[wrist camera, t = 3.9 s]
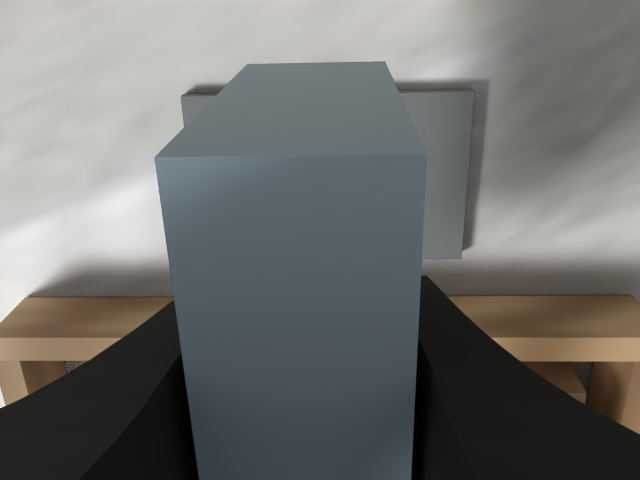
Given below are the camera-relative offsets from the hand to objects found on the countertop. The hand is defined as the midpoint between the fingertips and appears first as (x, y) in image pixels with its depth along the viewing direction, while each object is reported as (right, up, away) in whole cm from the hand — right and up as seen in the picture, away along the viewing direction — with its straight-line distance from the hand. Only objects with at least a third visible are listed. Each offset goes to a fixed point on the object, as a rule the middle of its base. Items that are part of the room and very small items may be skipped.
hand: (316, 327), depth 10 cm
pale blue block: (0, +1, +2) cm, 2 cm away
